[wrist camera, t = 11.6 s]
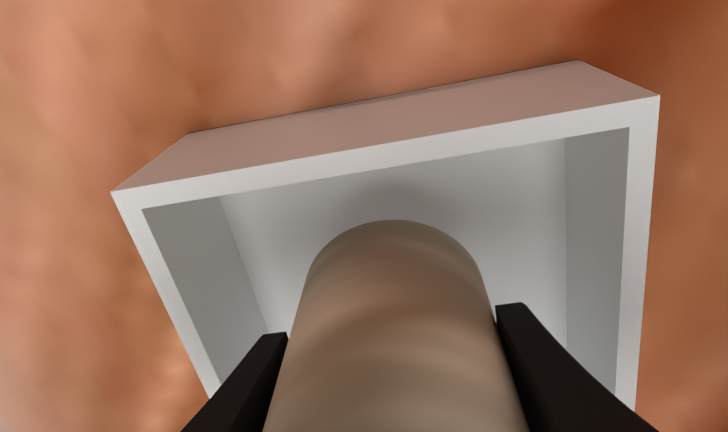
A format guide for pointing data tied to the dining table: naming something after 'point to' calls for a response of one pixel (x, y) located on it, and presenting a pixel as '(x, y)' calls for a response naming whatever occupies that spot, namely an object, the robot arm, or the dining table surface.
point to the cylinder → (395, 340)
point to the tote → (414, 207)
